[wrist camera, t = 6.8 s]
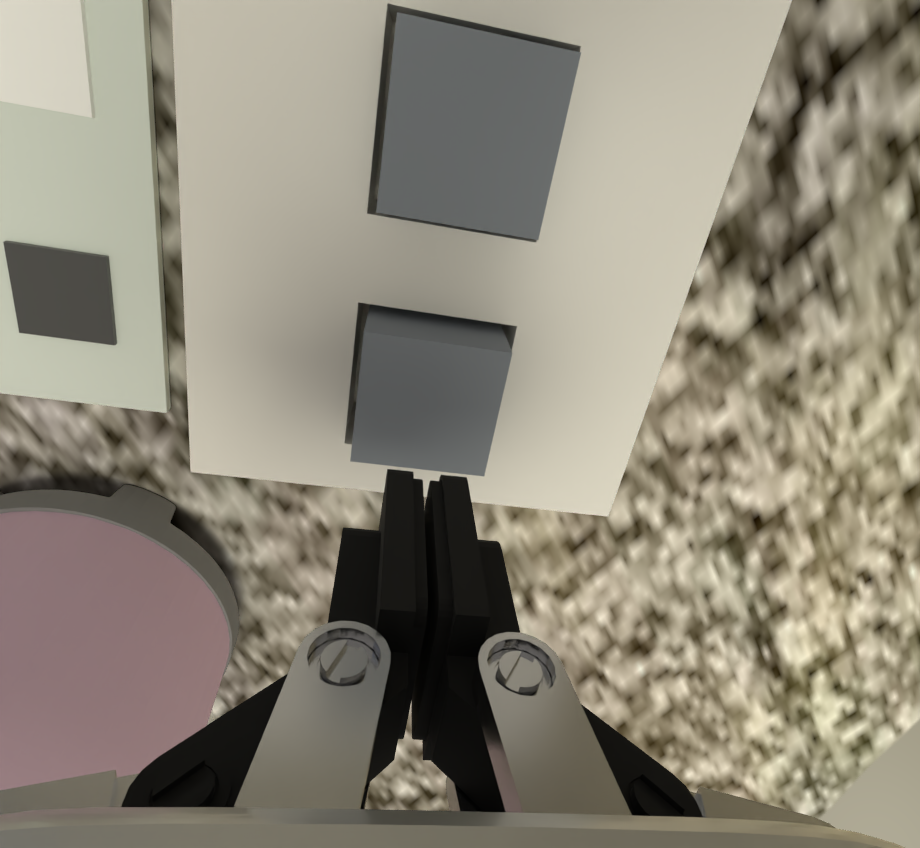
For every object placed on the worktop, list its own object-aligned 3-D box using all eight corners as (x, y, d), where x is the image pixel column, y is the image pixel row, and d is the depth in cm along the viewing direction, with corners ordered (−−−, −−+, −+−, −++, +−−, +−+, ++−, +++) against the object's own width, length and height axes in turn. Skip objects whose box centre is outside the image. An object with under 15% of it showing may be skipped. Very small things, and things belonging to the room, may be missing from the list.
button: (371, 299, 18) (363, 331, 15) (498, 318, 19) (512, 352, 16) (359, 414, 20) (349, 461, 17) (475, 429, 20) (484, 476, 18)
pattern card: (-219, -660, 11) (-250, -698, 11) (117, -548, 12) (104, -579, 11) (-5, 386, 21) (-16, 394, 21) (171, 408, 22) (164, 415, 21)
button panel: (219, -515, 12) (139, -767, 9) (821, -317, 14) (954, -458, 11) (226, 414, 22) (190, 472, 19) (580, 457, 24) (608, 516, 21)
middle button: (400, 29, 15) (397, 11, 12) (552, 62, 15) (581, 52, 13) (382, 196, 17) (375, 212, 14) (519, 220, 17) (538, 240, 15)
